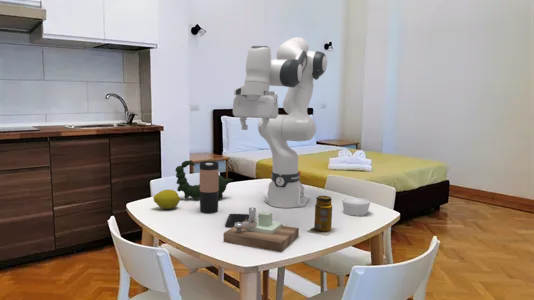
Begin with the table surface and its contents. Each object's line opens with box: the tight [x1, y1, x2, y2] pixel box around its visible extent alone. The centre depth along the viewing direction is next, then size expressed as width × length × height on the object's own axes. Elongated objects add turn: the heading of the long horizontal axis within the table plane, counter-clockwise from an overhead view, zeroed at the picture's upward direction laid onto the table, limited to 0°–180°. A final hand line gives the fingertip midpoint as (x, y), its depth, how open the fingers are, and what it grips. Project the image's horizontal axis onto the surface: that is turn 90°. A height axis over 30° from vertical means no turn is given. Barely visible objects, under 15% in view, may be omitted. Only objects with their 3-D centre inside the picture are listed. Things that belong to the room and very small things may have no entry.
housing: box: [223, 219, 300, 253], centre depth 138 cm, size 16×20×4 cm
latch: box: [235, 207, 257, 228], centre depth 136 cm, size 7×3×6 cm, turn 111°
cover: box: [247, 210, 284, 234], centre depth 140 cm, size 9×9×5 cm
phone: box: [224, 213, 249, 229], centre depth 157 cm, size 8×1×15 cm
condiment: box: [307, 195, 336, 236], centre depth 147 cm, size 7×8×12 cm
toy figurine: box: [174, 160, 234, 201], centre depth 188 cm, size 9×19×25 cm
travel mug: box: [199, 160, 220, 215], centre depth 168 cm, size 8×8×20 cm
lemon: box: [153, 189, 182, 210], centre depth 171 cm, size 11×8×8 cm
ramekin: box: [341, 197, 371, 217], centre depth 171 cm, size 11×11×5 cm
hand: (253, 130), depth 147 cm, fingers open, 8 cm apart
